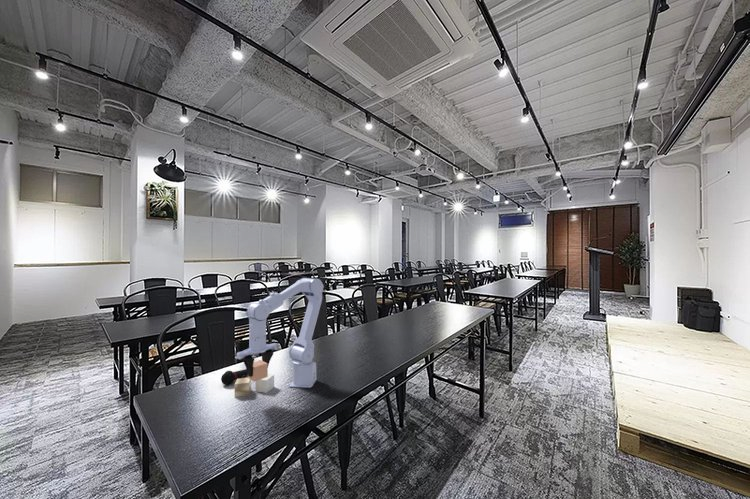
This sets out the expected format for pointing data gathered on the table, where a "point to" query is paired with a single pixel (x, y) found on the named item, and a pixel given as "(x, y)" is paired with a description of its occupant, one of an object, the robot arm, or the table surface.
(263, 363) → the peach block
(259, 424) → the table surface
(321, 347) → the table surface
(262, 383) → the white block
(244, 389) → the birch block
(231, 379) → the microphone
